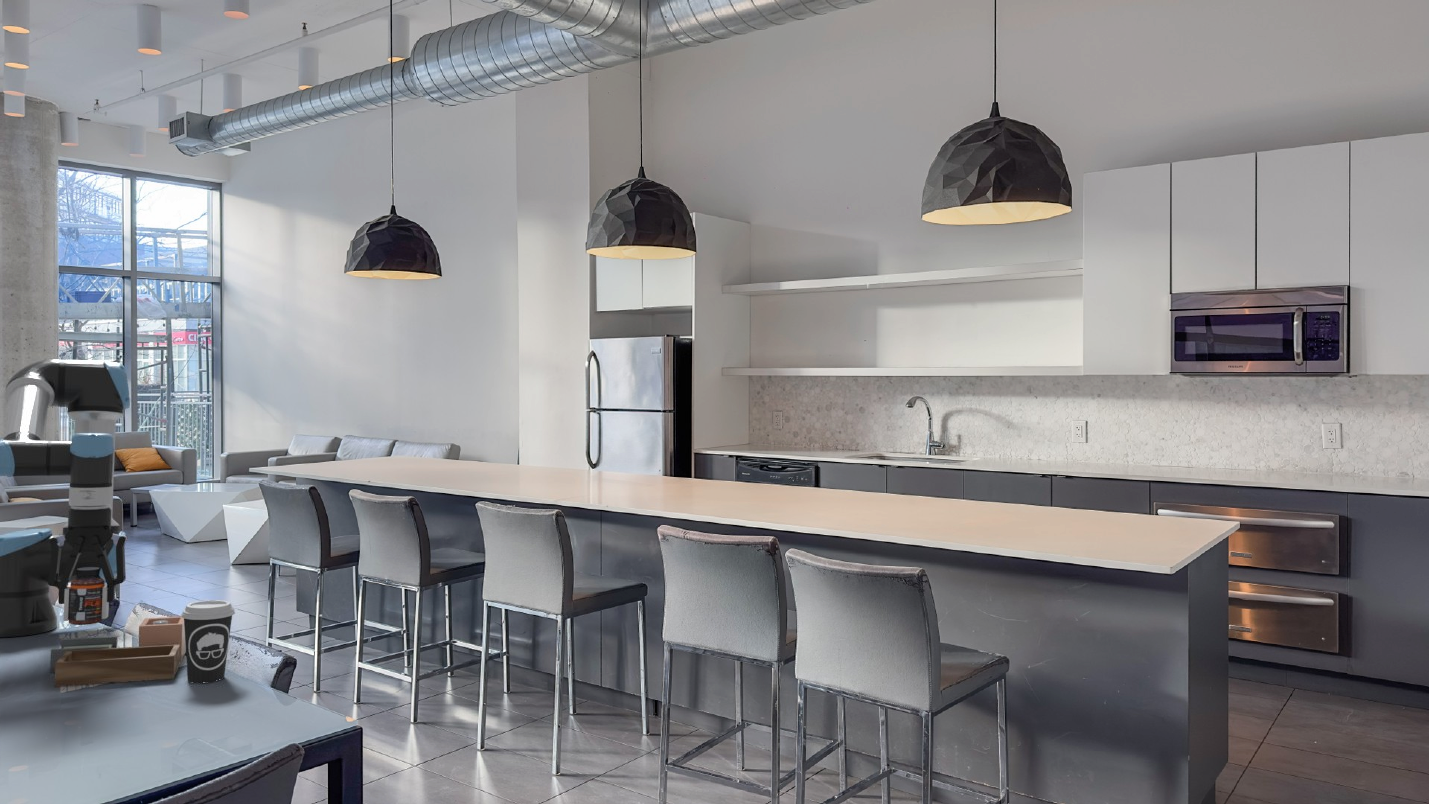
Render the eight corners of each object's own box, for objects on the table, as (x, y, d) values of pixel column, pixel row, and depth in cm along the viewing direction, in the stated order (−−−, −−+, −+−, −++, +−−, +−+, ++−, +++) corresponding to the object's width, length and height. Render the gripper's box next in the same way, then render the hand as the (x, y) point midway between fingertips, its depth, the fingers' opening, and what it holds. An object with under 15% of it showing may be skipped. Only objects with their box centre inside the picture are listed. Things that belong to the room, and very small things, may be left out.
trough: (66, 672, 194) (67, 650, 194) (179, 665, 202) (180, 644, 202) (54, 686, 185) (55, 663, 185) (173, 678, 193) (174, 656, 193)
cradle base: (61, 660, 203) (62, 638, 203) (116, 656, 207) (117, 635, 207) (50, 672, 194) (50, 650, 194) (107, 669, 198) (108, 647, 198)
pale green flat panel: (64, 651, 202) (64, 646, 202) (112, 648, 205) (112, 644, 205) (56, 660, 195) (56, 655, 195) (105, 657, 199) (105, 652, 199)
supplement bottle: (85, 626, 197) (87, 571, 197) (61, 624, 198) (63, 569, 198) (109, 620, 202) (111, 567, 203) (85, 619, 204) (87, 565, 204)
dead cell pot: (143, 655, 209) (144, 618, 209) (185, 652, 212) (186, 616, 212) (137, 664, 201) (139, 626, 201) (181, 661, 205) (182, 624, 205)
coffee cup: (242, 673, 197) (245, 600, 197) (213, 687, 188) (216, 610, 188) (198, 671, 198) (201, 598, 198) (167, 684, 189) (170, 607, 189)
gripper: (30, 509, 193) (26, 625, 193) (139, 508, 201) (135, 619, 200) (40, 506, 200) (36, 617, 200) (145, 505, 208) (141, 612, 207)
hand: (86, 618), depth 200 cm, fingers closed on supplement bottle, 6 cm apart
